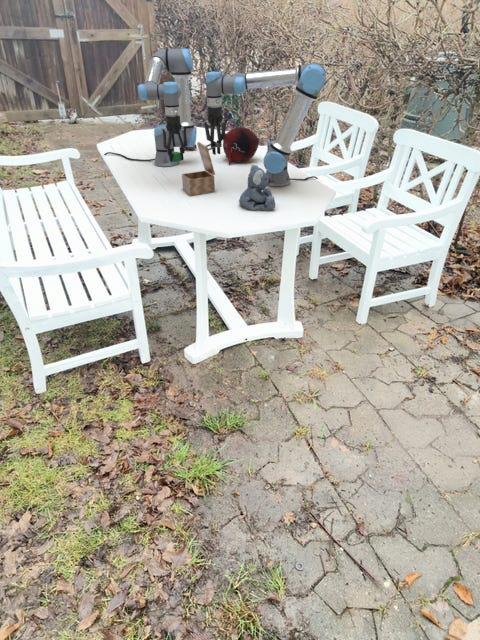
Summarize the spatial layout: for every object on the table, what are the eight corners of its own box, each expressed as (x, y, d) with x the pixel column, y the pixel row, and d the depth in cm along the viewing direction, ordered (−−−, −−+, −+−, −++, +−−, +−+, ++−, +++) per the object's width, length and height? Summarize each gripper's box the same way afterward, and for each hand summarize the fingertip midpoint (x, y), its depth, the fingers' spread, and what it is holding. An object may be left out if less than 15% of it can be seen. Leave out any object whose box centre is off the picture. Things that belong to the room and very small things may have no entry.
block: (176, 162, 247) (176, 154, 245) (171, 161, 249) (170, 153, 247) (181, 160, 250) (181, 152, 247) (176, 159, 252) (175, 151, 249)
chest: (190, 196, 242) (189, 180, 238) (183, 189, 251) (181, 174, 246) (214, 192, 248) (214, 176, 243) (206, 185, 256) (205, 170, 252)
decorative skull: (219, 133, 304) (219, 130, 280) (253, 125, 303) (256, 122, 279) (226, 165, 310) (227, 165, 287) (260, 158, 310) (263, 157, 286)
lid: (205, 147, 232) (221, 141, 234) (196, 142, 241) (212, 136, 243) (213, 175, 242) (228, 168, 244) (204, 169, 251) (219, 163, 253)
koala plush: (276, 211, 223) (277, 171, 212) (240, 212, 222) (240, 172, 211) (271, 199, 237) (272, 161, 226) (237, 200, 236) (237, 162, 225)
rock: (192, 148, 330) (179, 150, 326) (190, 136, 327) (178, 137, 323) (198, 149, 321) (185, 151, 317) (197, 136, 317) (184, 137, 313)
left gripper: (157, 118, 230) (162, 164, 243) (191, 114, 237) (194, 159, 250) (153, 115, 236) (158, 160, 249) (187, 112, 242) (190, 156, 255)
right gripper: (203, 108, 224) (206, 157, 237) (231, 106, 230) (232, 153, 243) (198, 106, 230) (200, 154, 243) (225, 104, 235) (226, 150, 248)
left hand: (176, 160), depth 249 cm, fingers closed on block, 6 cm apart
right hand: (216, 153), depth 243 cm, fingers closed on lid, 2 cm apart
